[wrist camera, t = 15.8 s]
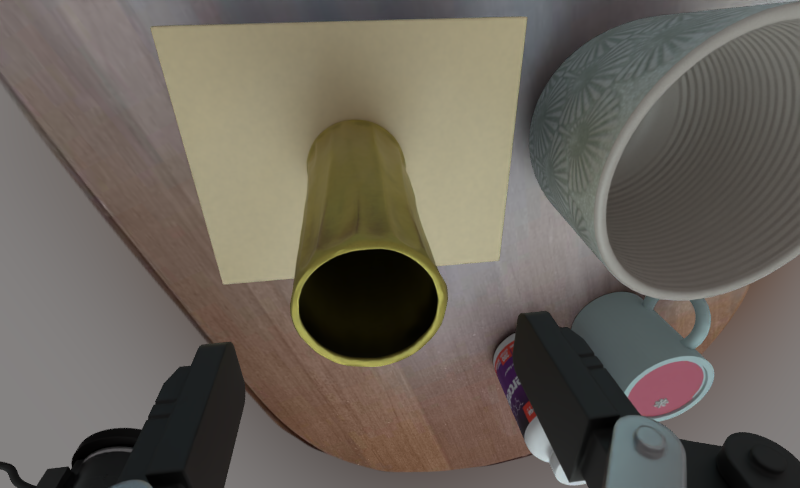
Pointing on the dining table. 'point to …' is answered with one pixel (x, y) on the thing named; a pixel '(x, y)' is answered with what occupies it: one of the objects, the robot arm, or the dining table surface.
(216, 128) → the box
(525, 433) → the pill bottle
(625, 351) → the mug
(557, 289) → the dining table surface
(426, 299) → the vase
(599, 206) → the planter
